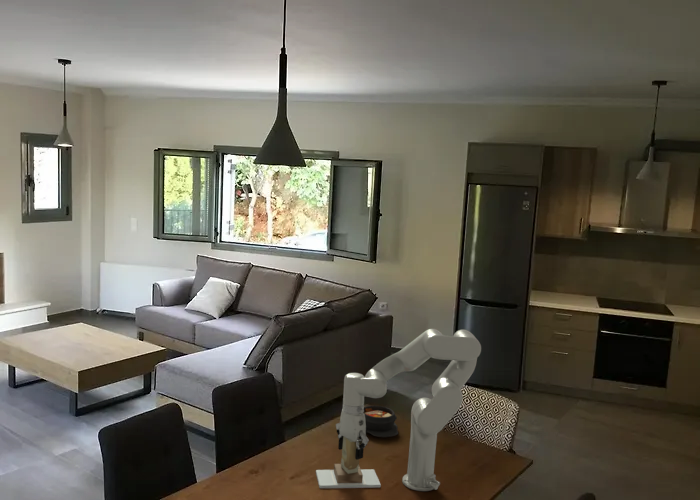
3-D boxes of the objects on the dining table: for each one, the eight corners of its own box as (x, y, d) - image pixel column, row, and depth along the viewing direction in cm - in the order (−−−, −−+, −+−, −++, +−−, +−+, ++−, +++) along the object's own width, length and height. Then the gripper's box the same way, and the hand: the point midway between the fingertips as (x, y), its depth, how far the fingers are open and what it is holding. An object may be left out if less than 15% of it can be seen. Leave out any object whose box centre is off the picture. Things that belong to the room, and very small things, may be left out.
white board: (373, 471, 236) (374, 469, 236) (380, 487, 224) (380, 484, 224) (315, 472, 232) (315, 469, 232) (319, 488, 220) (319, 485, 220)
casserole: (346, 420, 285) (347, 402, 284) (383, 417, 292) (384, 400, 291) (368, 443, 262) (370, 423, 261) (408, 439, 269) (409, 420, 268)
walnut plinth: (357, 471, 233) (358, 463, 233) (362, 482, 224) (362, 474, 224) (333, 471, 231) (334, 463, 231) (337, 483, 223) (337, 475, 222)
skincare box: (340, 466, 229) (342, 434, 228) (350, 465, 231) (353, 433, 230) (348, 474, 223) (350, 441, 222) (358, 472, 225) (361, 440, 224)
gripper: (376, 413, 221) (374, 460, 223) (346, 398, 234) (343, 442, 236) (360, 417, 216) (357, 465, 218) (330, 402, 229) (327, 447, 231)
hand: (350, 453), depth 227 cm, fingers open, 9 cm apart
